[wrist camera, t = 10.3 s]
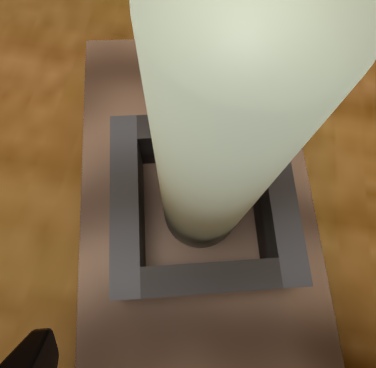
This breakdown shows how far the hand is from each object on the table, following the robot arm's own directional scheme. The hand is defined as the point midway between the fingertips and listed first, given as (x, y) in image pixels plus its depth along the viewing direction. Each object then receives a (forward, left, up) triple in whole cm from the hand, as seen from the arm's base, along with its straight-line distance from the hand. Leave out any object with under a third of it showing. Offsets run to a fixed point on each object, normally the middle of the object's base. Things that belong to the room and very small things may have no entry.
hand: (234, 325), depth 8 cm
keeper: (+2, +4, -9) cm, 10 cm away
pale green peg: (+2, +4, -8) cm, 9 cm away
